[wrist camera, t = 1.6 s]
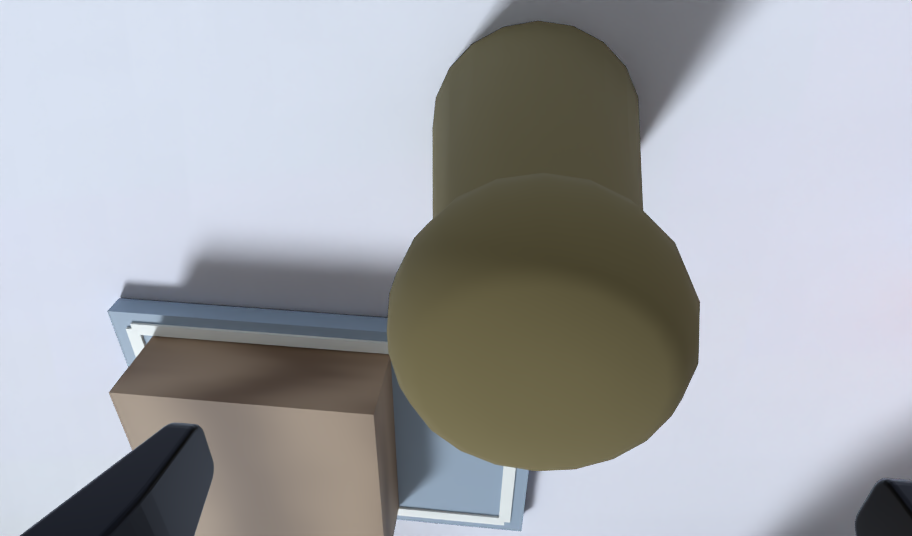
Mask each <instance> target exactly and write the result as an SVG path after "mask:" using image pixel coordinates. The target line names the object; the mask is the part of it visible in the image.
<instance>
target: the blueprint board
mask: <svg viewBox="0 0 912 536" xmlns="http://www.w3.org/2000/svg"><path fill="white" fill-rule="evenodd" d="M108 314H109V317H110V320H111V322H112V325H113V328H114V330H115V333H116V336H117V338H118V341H119V344H120V346H121V349H122V352H123V354H124V357H125V360H126V362H127V365H128V367H129V366H130V365H131V363H132V362H133V361H134V360H135V358H136V357H137V356H138V354H139V353H140V352H141V351H142V349H143V348H144V347H145V345H146V344H147V343H148V342H149V340H150V339H151V338H152V336H161V337H174V338H187V339H199V340H212V341H225V342H238V343H251V344H264V345H277V346H290V347H303V348H316V349H329V350H342V351H355V352H368V353H381V354H389V353H388V342H387V320H388V318H382V317H369V316H355V315H341V314H328V313H314V312H300V311H287V310H273V309H259V308H246V307H232V306H218V305H205V304H191V303H177V302H164V301H150V300H136V299H123V298H119V299H118V300H117V301H116V302H115V303H114V304H113V306H112V307H111V308H110V309H109V310H108ZM391 371H392V388H393V406H394V424H395V442H396V460H397V477H398V495H399V509H398V514H397V519H398V520H409V521H419V522H430V523H440V524H450V525H461V526H471V527H481V528H492V529H502V530H513V531H521V530H522V522H523V514H524V506H525V498H526V490H527V482H528V474H529V470H525V469H519V468H513V467H506V466H500V465H495V464H493V463H490V462H487V461H485V460H482V459H480V458H477V457H475V456H472V455H469V454H467V453H464V452H462V451H460V450H458V449H457V448H456V447H454V446H453V445H451V444H450V443H448V442H447V441H446V440H444V439H443V438H441V437H440V436H439V435H437V434H436V433H434V432H433V431H431V430H430V428H429V427H428V426H427V424H426V423H425V422H424V421H423V419H422V418H421V417H420V416H419V414H418V413H417V412H416V410H415V409H414V408H413V407H412V405H411V404H410V403H409V401H408V399H407V398H406V396H405V394H404V393H403V391H402V390H401V388H400V386H399V383H398V380H397V377H396V374H395V371H394V368H393V365H392V362H391Z"/></svg>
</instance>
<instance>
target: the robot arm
mask: <svg viewBox="0 0 912 536" xmlns="http://www.w3.org/2000/svg"><path fill="white" fill-rule="evenodd" d="M213 474H214V463H213V459H212V456H211V452H210V449H209V446H208V443H207V440H206V437H205V434H204V431H203V429H202V428H201V427H200V426H199V425H197V424H189V423H170V424H168V425H166V426H164V427H163V428H162V429H160V430H159V431H158V432H156V433H155V434H154V435H152V436H151V437H150V438H148V439H147V440H146V441H144V442H143V443H142V444H140V445H139V446H138V447H136V448H135V449H134V450H132V451H131V452H130V453H128V454H127V455H126V456H125V457H123V458H122V459H121V460H119V461H118V462H117V463H115V464H114V465H113V466H111V467H110V468H109V469H107V470H106V471H105V472H103V473H102V474H101V475H99V476H98V477H97V478H95V479H94V480H93V481H91V482H90V483H89V484H87V485H86V486H85V487H84V488H82V489H81V490H80V491H78V492H77V493H76V494H74V495H73V496H72V497H70V498H69V499H68V500H66V501H65V502H64V503H62V504H61V505H60V506H58V507H57V508H56V509H54V510H53V511H52V512H50V513H49V514H48V515H46V516H45V517H44V518H43V519H41V520H40V521H39V522H37V523H36V524H35V525H33V526H32V527H31V528H29V529H28V530H27V531H25V532H24V533H23V534H21V535H20V536H194V535H195V532H196V529H197V526H198V523H199V520H200V517H201V514H202V510H203V507H204V504H205V501H206V498H207V495H208V492H209V488H210V485H211V482H212V479H213ZM855 531H856V536H912V480H902V479H890V478H884V479H881V480H879V481H878V482H877V483H876V484H875V485H874V487H873V489H872V490H871V492H870V494H869V495H868V497H867V499H866V500H865V502H864V504H863V505H862V507H861V509H860V510H859V512H858V514H857V517H856V521H855Z"/></svg>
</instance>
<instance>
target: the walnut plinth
mask: <svg viewBox="0 0 912 536" xmlns="http://www.w3.org/2000/svg"><path fill="white" fill-rule="evenodd" d="M109 394H110V397H111V399H112V401H113V404H114V406H115V409H116V411H117V414H118V416H119V419H120V421H121V424H122V426H123V428H124V431H125V433H126V436H127V438H128V441H129V443H130V446H131V448H132V450H134V449H135V448H136V447H138V446H139V445H140V444H142V443H143V442H144V441H146V440H147V439H148V438H150V437H151V436H152V435H154V434H155V433H156V432H158V431H159V430H160V429H162V428H163V427H164V426H166V425H168V424H170V423H189V424H197V425H199V426H200V427H201V428H202V429H203V431H204V434H205V437H206V440H207V443H208V446H209V449H210V452H211V456H212V459H213V463H214V474H213V479H212V482H211V485H210V488H209V492H208V495H207V498H206V501H205V504H204V507H203V510H202V514H201V517H200V520H199V523H198V526H197V529H196V532H195V535H194V536H393V534H394V529H395V524H396V519H397V514H398V509H399V495H398V477H397V460H396V442H395V424H394V406H393V388H392V371H391V359H390V356H389V354H381V353H368V352H355V351H342V350H329V349H316V348H303V347H290V346H277V345H264V344H251V343H238V342H225V341H212V340H199V339H187V338H174V337H161V336H152V338H151V339H150V340H149V342H148V343H147V344H146V345H145V347H144V348H143V349H142V351H141V352H140V353H139V354H138V356H137V357H136V358H135V360H134V361H133V362H132V363H131V365H130V366H129V367H128V369H127V370H126V371H125V372H124V374H123V375H122V376H121V378H120V379H119V380H118V381H117V383H116V384H115V385H114V387H113V388H112V389H111V390H110V392H109Z"/></svg>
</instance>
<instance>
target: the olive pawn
mask: <svg viewBox="0 0 912 536" xmlns="http://www.w3.org/2000/svg"><path fill="white" fill-rule="evenodd" d="M699 313H700V301H699V299H698V296H697V294H696V292H695V289H694V287H693V284H692V282H691V280H690V277H689V275H688V272H687V270H686V268H685V265H684V263H683V261H682V258H681V256H680V254H679V251H678V249H677V247H676V244H675V242H674V241H673V240H672V239H671V238H670V237H669V236H668V235H667V234H666V233H665V232H664V231H663V230H662V229H661V228H660V227H659V226H658V225H657V224H656V223H655V222H654V221H653V220H652V219H651V218H650V217H649V216H648V215H647V214H646V213H645V212H644V211H643V199H642V176H641V153H640V130H639V107H638V96H637V93H636V91H635V88H634V86H633V83H632V81H631V78H630V76H629V73H628V71H627V68H626V67H625V65H624V64H623V63H622V62H621V61H620V60H619V59H618V58H617V57H616V55H615V54H614V53H613V52H612V51H611V50H610V49H609V48H608V47H607V46H606V44H605V43H604V42H602V41H600V40H598V39H596V38H595V37H593V36H591V35H589V34H587V33H585V32H583V31H581V30H579V29H578V28H576V27H574V26H569V25H563V24H556V23H549V22H543V21H534V22H529V23H523V24H518V25H512V26H507V27H502V28H501V29H499V30H497V31H495V32H493V33H491V34H490V35H488V36H486V37H484V38H482V39H480V40H479V41H477V42H475V43H473V44H472V45H471V46H470V47H469V48H468V49H467V50H466V51H465V52H464V53H463V54H462V56H461V57H460V58H459V59H458V60H457V61H456V62H455V63H454V64H453V65H452V66H451V67H450V68H449V70H448V73H447V75H446V77H445V79H444V81H443V83H442V86H441V88H440V90H439V92H438V94H437V97H436V101H435V111H434V121H433V219H432V220H431V221H430V222H429V223H428V224H427V225H426V226H425V227H424V228H423V229H422V230H421V231H420V232H419V233H418V235H417V236H416V237H415V238H414V240H413V242H412V244H411V245H410V247H409V249H408V251H407V253H406V255H405V257H404V259H403V261H402V263H401V265H400V267H399V269H398V271H397V273H396V276H395V279H394V282H393V285H392V288H391V290H390V293H389V307H388V320H387V342H388V353H389V356H390V359H391V362H392V365H393V368H394V371H395V374H396V377H397V380H398V383H399V386H400V388H401V390H402V391H403V393H404V394H405V396H406V398H407V399H408V401H409V403H410V404H411V405H412V407H413V408H414V409H415V410H416V412H417V413H418V414H419V416H420V417H421V418H422V419H423V421H424V422H425V423H426V424H427V426H428V427H429V428H430V430H431V431H433V432H434V433H436V434H437V435H439V436H440V437H441V438H443V439H444V440H446V441H447V442H448V443H450V444H451V445H453V446H454V447H456V448H457V449H458V450H460V451H462V452H464V453H467V454H469V455H472V456H475V457H477V458H480V459H482V460H485V461H487V462H490V463H493V464H495V465H500V466H506V467H513V468H519V469H525V470H531V471H547V470H568V469H577V468H581V467H585V466H589V465H593V464H596V463H600V462H604V461H608V460H611V459H614V458H616V457H618V456H620V455H621V454H623V453H625V452H627V451H629V450H631V449H632V448H634V447H636V446H638V445H640V444H642V443H644V442H645V441H647V440H648V439H649V438H650V437H651V436H652V435H653V434H654V433H655V432H656V431H657V430H658V429H659V428H660V427H661V426H662V425H663V424H664V423H665V422H666V421H667V420H668V419H669V418H670V417H671V416H672V414H673V413H674V411H675V410H676V408H677V406H678V405H679V403H680V401H681V400H682V398H683V396H684V393H685V391H686V389H687V387H688V385H689V383H690V380H691V378H692V376H693V374H694V372H695V370H696V367H697V365H698V354H699Z"/></svg>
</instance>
